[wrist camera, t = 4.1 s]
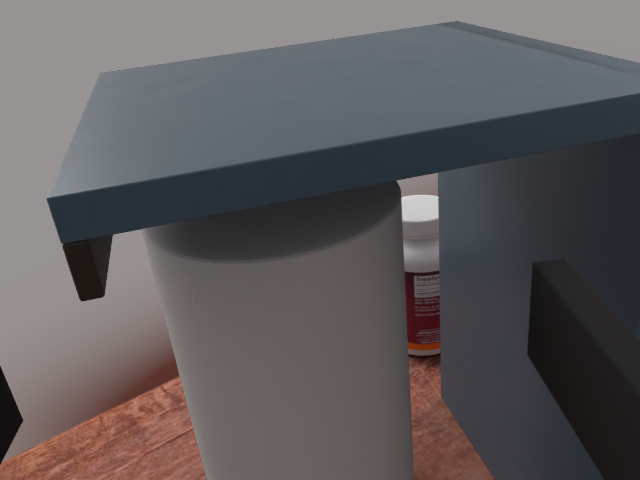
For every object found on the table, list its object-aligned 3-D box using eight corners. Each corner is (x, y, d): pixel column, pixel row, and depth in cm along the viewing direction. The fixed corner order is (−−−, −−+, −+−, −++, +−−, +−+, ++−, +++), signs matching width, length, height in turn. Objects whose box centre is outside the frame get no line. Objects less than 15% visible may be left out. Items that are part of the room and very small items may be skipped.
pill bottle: (373, 320, 50) (364, 197, 45) (445, 306, 51) (444, 184, 46) (396, 366, 45) (388, 232, 40) (476, 350, 45) (478, 216, 40)
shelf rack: (227, 749, 25) (45, 198, 14) (199, 459, 39) (99, 73, 28) (612, 617, 28) (714, 79, 17) (457, 392, 42) (457, 20, 31)
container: (362, 444, 38) (334, 137, 29) (455, 577, 30) (454, 205, 21) (209, 507, 35) (124, 186, 26) (264, 676, 27) (167, 289, 18)
